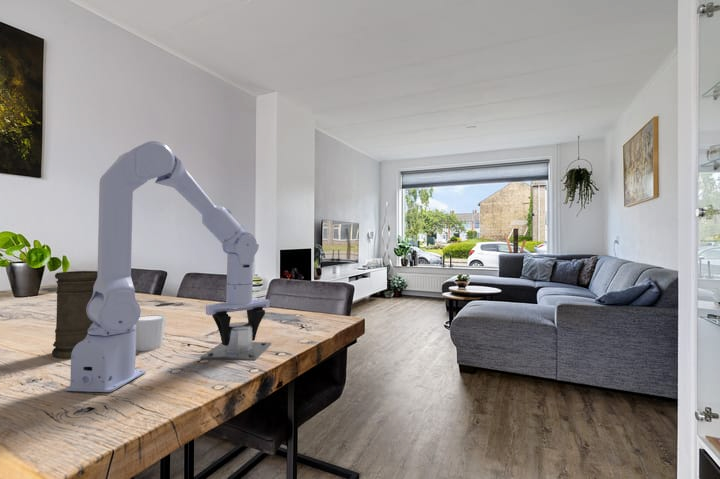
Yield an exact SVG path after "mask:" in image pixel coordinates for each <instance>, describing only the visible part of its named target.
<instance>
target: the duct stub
mask: <svg viewBox="0 0 720 479" xmlns="http://www.w3.org/2000/svg"><path fill="white" fill-rule="evenodd" d="M271 345H272V342H264V341H261V342H260V341H252V349H251V350H249V351H247V352H241V353H230V352H227V351H226V350H225V345H223V344H222V342H221V343H219V344H218V345H216V346H215V347H213V348H211V349H210V350H208V351H207V352H205V353H203V354H202V355H201V356H200V359H207V360H208V359H211V360H240V361H241V360H243V361H244V360H247V361H249V360H250V361H256V360H257V359H258V358H260V356H261V355H262V354H263V353H265V351H266V350H268V348H269V347H270V346H271Z"/></svg>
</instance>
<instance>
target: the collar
mask: <svg viewBox="0 0 720 479" xmlns="http://www.w3.org/2000/svg"><path fill="white" fill-rule="evenodd" d="M252 328H253V327H252V324H251V323H248V321H245V322H242V321H241V322H240V321H239V322H238V321H237V322H230V325H229V344H228V345H227V346H225V350H226V351H227V352H230V353H241V352H247V351H249V350H251V349H252V342H253V341H252Z"/></svg>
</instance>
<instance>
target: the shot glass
mask: <svg viewBox="0 0 720 479" xmlns="http://www.w3.org/2000/svg"><path fill="white" fill-rule="evenodd" d="M165 324H166V316H165V315H157V314H156V315H155V314H152V315H143V316H140V317H139V320H138V321H137V323H136V324H135V325H136V351H139V352H142V351H143V352H145V351H146V352H147V351H152V350H157V349H159V348H162V347H163V342H164V332H165Z"/></svg>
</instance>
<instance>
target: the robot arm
mask: <svg viewBox="0 0 720 479" xmlns="http://www.w3.org/2000/svg"><path fill="white" fill-rule="evenodd" d="M153 179H156V180H155V181H154V183H155V184H157V185H162V186H166V187H169V188H173V189H174V190H176V192H178V193H179V194H180V195H181V196H182V197H183V198H184V199H185V200H186V201H187V202H188V203H190V205H192V207H193V208H195V210H197V212H199V213H200V214H201V219H202V225H204V226H205V228H206V229H208V230H209V232H210V233H211V234H212V235H213V236H214V237H215V238H216V239H217V240H218V241H219V242H220V243H221V247H222V250H223V252H224V253H225V254H227V263H226V264H227V265H226V300H225V301H226V302H219V303H213V304H206V305H205V314H206V315H208V316H212V319H213V321H214V323H215V324H216V326H217V330H218V332H219V335H220V340H221V343H222V344H223V345H225V346H227V345H228V344H229V325H230V324H231V320H232V316H230V315H229V314H228V313H234V312H241V311H242V312H243V311H246V314H247V323H251V324H252V327H253V328H252V342H255V340H256V337H257V332H258V329H259V327H260V324H261V322H262V320H263V318H264V316H265V314H266V310H265V309H270V305H271V304H270V303H271V300H270V299H266V298H265V299H264V298H263V299H262V298H261V299H253V287H254V286H253V284H254V283H253V282H254V280H253V278H254V261H255V255H256V254H257V252H258V250H259V247H260V245H259V244H258V243H257V240H256V239H257V238H256V236H254V234H252V233H250V232H248V231H247V232H246V231H245V228H246V227H244V225H241V224H240V223H239V222H238V221H237V220H236V219H235V218H234V217H233V215H232V213H233V212H232V210H230V208H225V206H221V205H216V204H215V203H214V202H213V201H212V200H211V198H210V197H209V196H208V195H207V193H206V192H205V191H204V190H203V188H202V187H201V186H200V185H199V183H197V181H196V180H195V179H194V178H193V176H192V175H191V174H190V173H189V171H188V170H187V169H186V166H185V165H184V163H183V161H182V159H180V157H179V156H177V155H175V154H174V152H173V151H172V150H171V148H170V147H169V146H167V144H165V143H163V142H161V141H156V140H151V141H147V142H144V143H142V144H140V145H138V146H136V147H134V148H132V149H131V150H129V151H127V152H124V153H122V154H121V155H119V156H118V158H117V159H116V160H115V161H114V162H113V164H112V165H111V166H110V167H109V168H108V169H107V170H106V171H105V172H104V174H102V175H101V177H100V178H99V185H98V186H99V189H98V190H99V191H98V194H99V195H98V198H99V199H98V228H97V229H98V230H97V233H98V236H97V271H98V275H97V280H96V282H95V284H94V286H93V295H92V298H91V299H90V301H89V302H88V305H87V308H86V312H87V315H88V317H89V319H90V320H91V321H93V323H92V324H91V326H90V327H89V329H88V334H87V336H86V338H85V339H84V340H83V341H81V342H79V343H78V344H77V345H76V346H75V347H74V348H73V350H72V354H71V358H70V382H69V383H70V384H69V386H67V387H65V389H64V391H65V392H87V393H89V392H90V393H91V392H92V393H94V392H95V393H112V392H114V391H115V390H117V389H119V388H120V387H122V386H125V385H126V384H128V383H129V382H131V381H133V380H136V379H137V378H138V377H140V376H142V375H144V374H146V373H147V369H139V368H137V369H136V355H137V354H136V351H137V350H136V325H135V324H136V323H137V321H138V320H139V317H141V313H142V312H141V306H140V304H139V303H138V300H137V299H136V295H135V294H136V288H135V285H134V283H133V279H132V251H133V250H132V246H133V242H132V241H133V240H132V239H133V235H132V234H133V200H134V199H133V196H134V195H133V194H134V191H136V190H137V189H138V188H140V187H141V186H143V185H144V184H146V183H147V182H148V181H150V180H153Z"/></svg>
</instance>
